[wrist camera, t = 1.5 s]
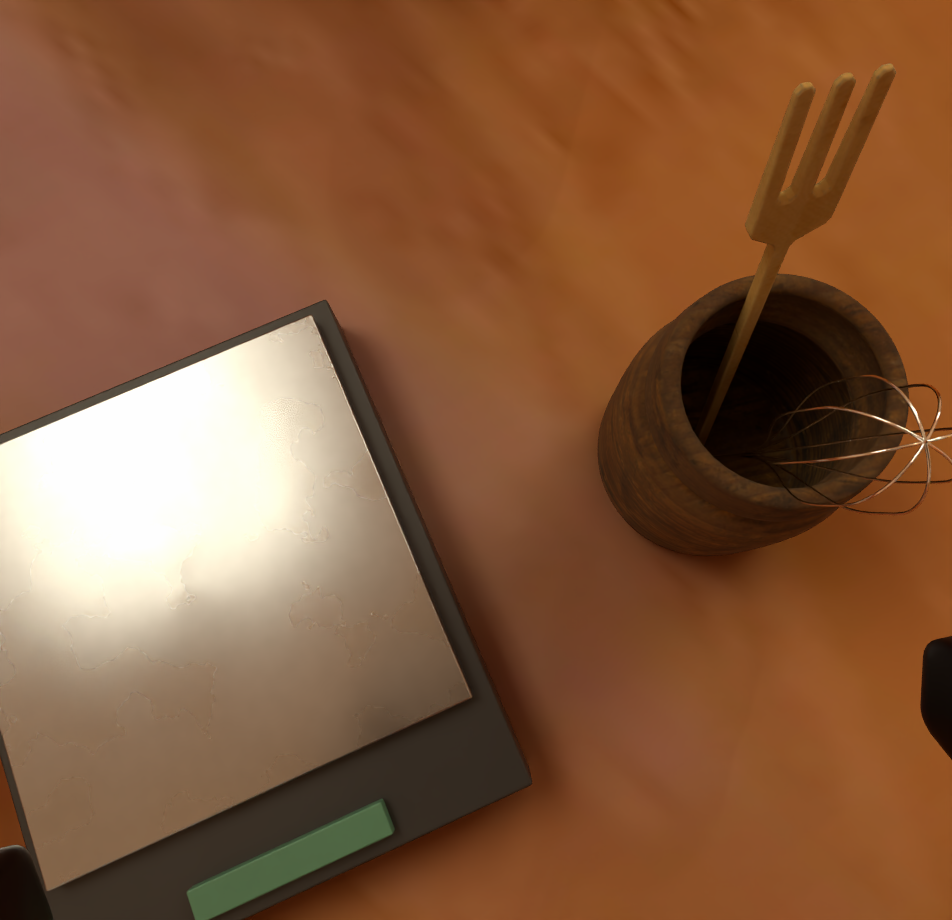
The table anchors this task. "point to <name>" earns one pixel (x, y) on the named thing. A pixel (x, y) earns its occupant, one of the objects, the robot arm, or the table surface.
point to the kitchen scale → (230, 638)
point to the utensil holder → (765, 377)
